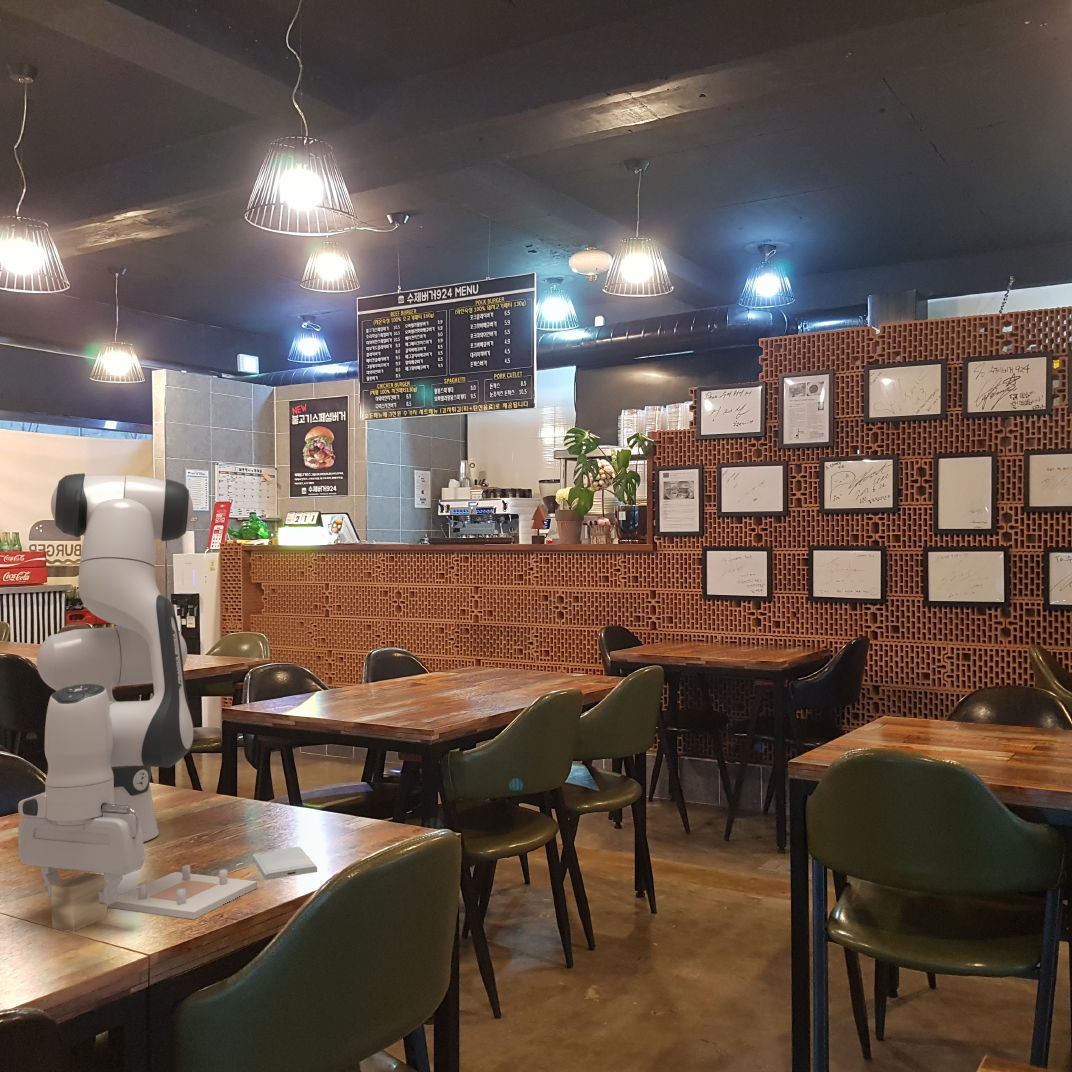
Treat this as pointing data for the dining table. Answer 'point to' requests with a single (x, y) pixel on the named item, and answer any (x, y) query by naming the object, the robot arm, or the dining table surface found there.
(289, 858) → the hard drive
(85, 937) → the dining table surface
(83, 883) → the maple block
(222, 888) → the pin base
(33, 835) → the robot arm
